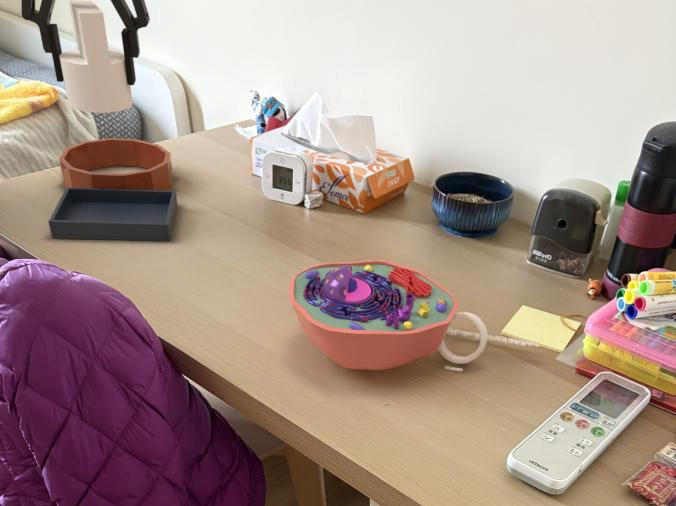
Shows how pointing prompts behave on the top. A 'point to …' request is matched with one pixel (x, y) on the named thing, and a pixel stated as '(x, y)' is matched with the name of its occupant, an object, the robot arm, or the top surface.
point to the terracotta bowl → (117, 154)
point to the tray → (114, 214)
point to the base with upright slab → (93, 65)
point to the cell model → (371, 312)
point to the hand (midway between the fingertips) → (97, 80)
